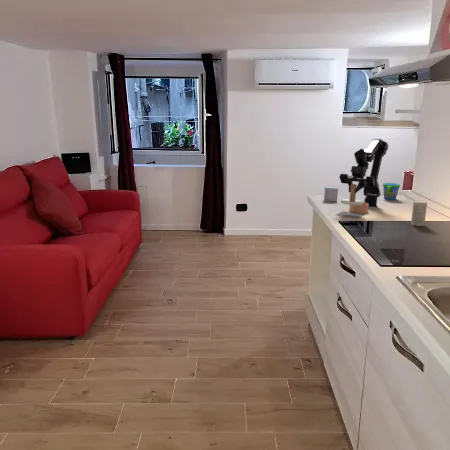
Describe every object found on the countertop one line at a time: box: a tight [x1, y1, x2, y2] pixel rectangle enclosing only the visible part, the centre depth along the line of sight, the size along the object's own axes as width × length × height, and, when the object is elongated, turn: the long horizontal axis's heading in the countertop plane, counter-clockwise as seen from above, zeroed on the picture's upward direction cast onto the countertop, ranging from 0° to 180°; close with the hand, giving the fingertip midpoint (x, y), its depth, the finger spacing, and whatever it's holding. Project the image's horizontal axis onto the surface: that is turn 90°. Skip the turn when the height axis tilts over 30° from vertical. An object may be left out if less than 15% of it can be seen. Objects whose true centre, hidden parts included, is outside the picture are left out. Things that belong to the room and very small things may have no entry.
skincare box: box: [410, 200, 428, 227], centre depth 224 cm, size 6×4×12 cm
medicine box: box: [323, 186, 339, 202], centre depth 279 cm, size 8×4×9 cm, turn 84°
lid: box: [340, 183, 364, 206], centre depth 238 cm, size 12×12×10 cm
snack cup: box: [382, 182, 401, 201], centre depth 290 cm, size 16×10×10 cm
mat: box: [335, 210, 366, 220], centre depth 241 cm, size 13×13×1 cm
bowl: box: [348, 201, 369, 214], centre depth 251 cm, size 10×10×5 cm
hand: (352, 192), depth 237 cm, fingers closed on lid, 3 cm apart
